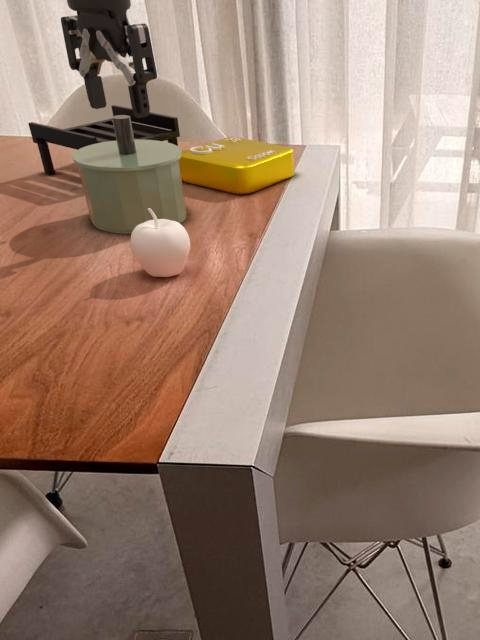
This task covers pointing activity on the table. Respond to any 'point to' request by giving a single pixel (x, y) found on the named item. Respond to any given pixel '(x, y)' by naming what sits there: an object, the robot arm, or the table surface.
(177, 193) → the pot
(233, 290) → the table surface
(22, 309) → the table surface
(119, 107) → the rack
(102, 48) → the robot arm
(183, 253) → the apple
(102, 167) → the lid
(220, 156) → the element tile
